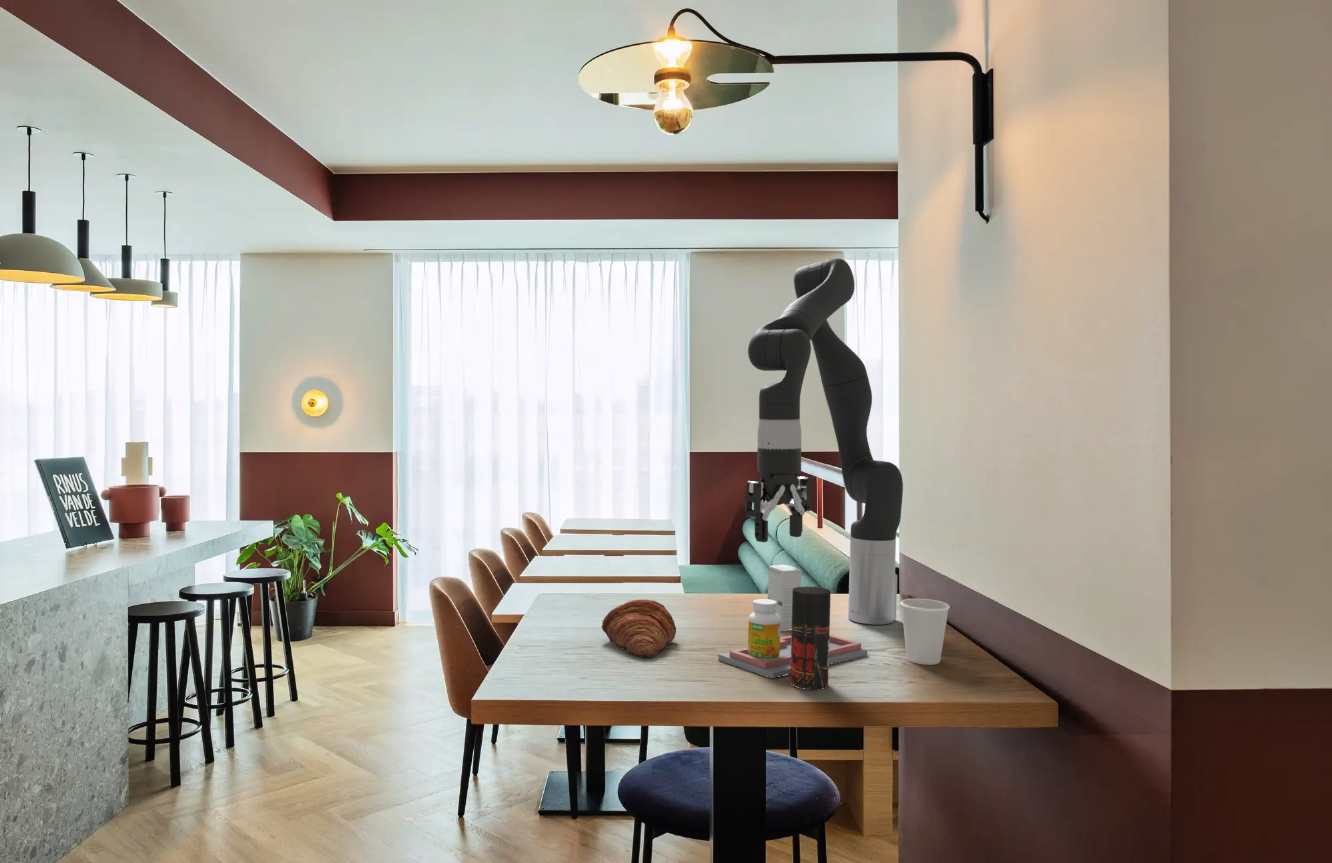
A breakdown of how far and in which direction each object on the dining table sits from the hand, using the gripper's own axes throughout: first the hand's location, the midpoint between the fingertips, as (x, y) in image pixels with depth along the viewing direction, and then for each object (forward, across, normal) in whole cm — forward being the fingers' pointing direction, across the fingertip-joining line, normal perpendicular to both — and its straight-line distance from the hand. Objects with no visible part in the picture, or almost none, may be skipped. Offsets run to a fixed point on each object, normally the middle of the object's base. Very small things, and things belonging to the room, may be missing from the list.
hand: (779, 539), depth 154 cm
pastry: (+21, -13, +22) cm, 33 cm away
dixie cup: (+22, +20, -16) cm, 34 cm away
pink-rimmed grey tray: (+21, +3, -1) cm, 21 cm away
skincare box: (+22, +17, +15) cm, 31 cm away
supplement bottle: (+20, -5, -1) cm, 21 cm away
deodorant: (+21, -7, -13) cm, 25 cm away
